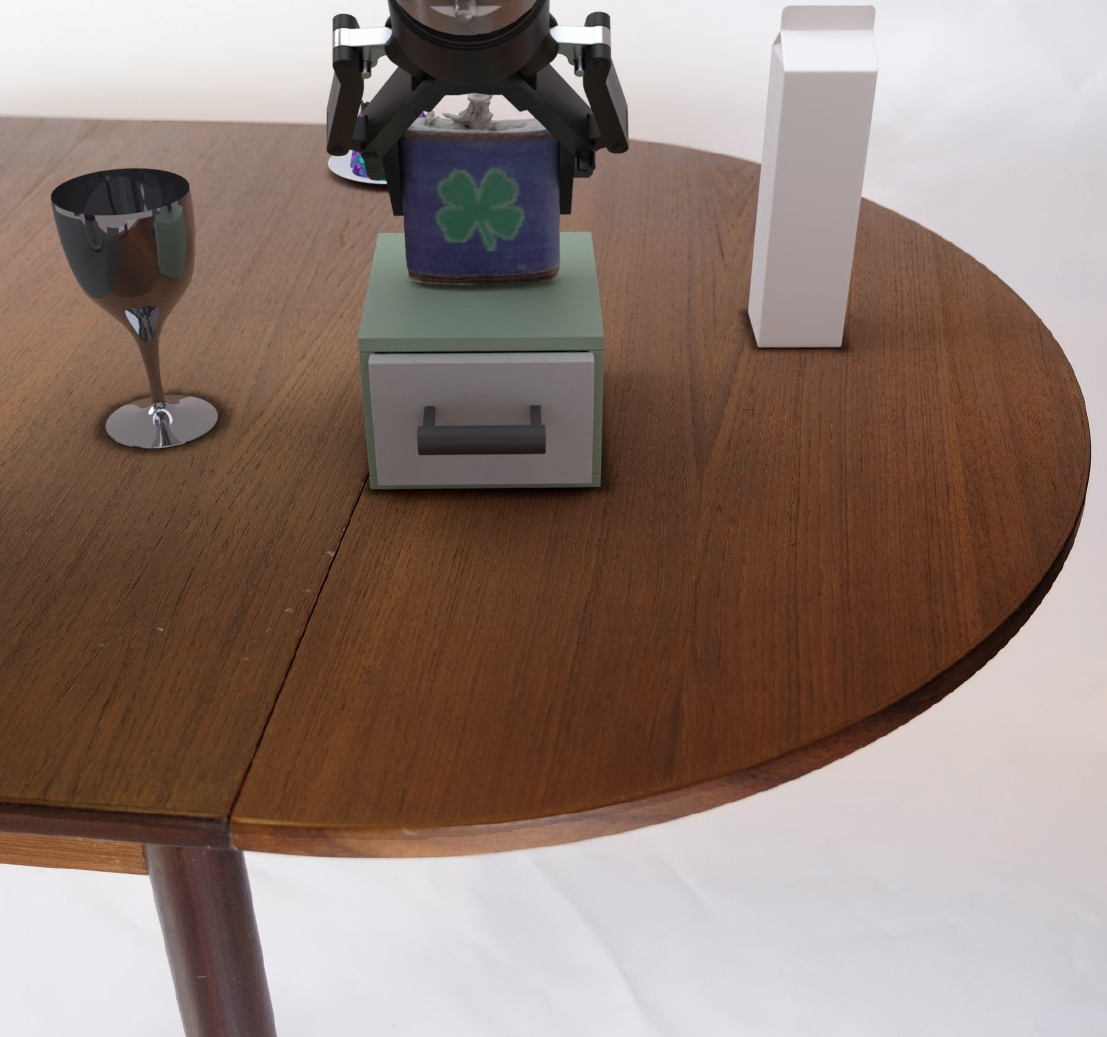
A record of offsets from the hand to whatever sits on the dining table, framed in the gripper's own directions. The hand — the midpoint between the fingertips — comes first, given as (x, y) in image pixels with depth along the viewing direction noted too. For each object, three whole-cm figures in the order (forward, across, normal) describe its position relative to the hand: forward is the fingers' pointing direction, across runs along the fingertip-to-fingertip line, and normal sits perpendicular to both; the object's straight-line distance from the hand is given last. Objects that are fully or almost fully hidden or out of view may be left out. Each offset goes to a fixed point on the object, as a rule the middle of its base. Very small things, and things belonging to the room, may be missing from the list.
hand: (482, 193), depth 87 cm
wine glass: (+9, -21, -12) cm, 25 cm away
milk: (+18, +22, -2) cm, 28 cm away
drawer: (+4, 0, -14) cm, 15 cm away
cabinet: (+8, 0, -12) cm, 14 cm away
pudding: (+42, -9, +22) cm, 49 cm away
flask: (+1, 0, -5) cm, 5 cm away
